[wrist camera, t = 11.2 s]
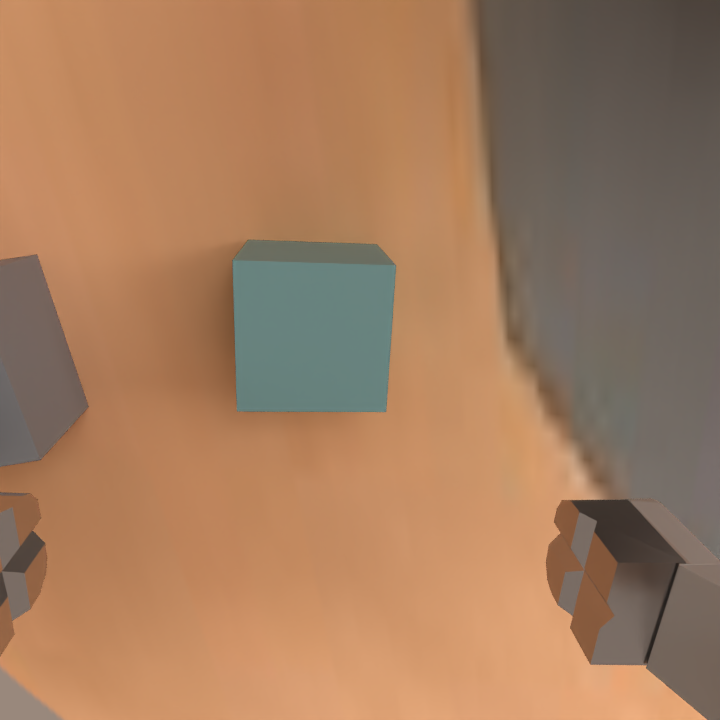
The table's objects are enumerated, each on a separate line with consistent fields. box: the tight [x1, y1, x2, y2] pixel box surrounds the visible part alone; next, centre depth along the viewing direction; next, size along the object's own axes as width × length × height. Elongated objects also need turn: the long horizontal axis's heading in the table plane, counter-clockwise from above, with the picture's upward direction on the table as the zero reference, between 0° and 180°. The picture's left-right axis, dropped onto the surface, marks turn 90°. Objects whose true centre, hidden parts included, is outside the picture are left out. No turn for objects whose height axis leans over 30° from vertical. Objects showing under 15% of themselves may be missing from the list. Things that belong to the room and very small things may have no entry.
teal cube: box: [232, 240, 396, 412], centre depth 22 cm, size 6×6×6 cm
